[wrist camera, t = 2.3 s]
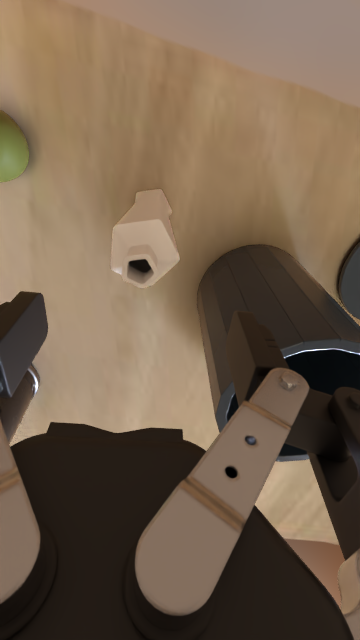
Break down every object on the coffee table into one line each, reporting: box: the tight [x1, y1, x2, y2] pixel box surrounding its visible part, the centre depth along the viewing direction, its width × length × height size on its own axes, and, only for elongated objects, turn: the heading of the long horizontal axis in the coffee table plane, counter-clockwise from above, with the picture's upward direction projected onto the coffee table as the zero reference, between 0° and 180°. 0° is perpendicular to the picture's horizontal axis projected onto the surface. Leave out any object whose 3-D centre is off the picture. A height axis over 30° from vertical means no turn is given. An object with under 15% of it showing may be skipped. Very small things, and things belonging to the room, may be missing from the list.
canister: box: [197, 245, 360, 462], centre depth 28 cm, size 13×13×17 cm
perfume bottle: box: [110, 189, 180, 289], centre depth 23 cm, size 5×4×15 cm
